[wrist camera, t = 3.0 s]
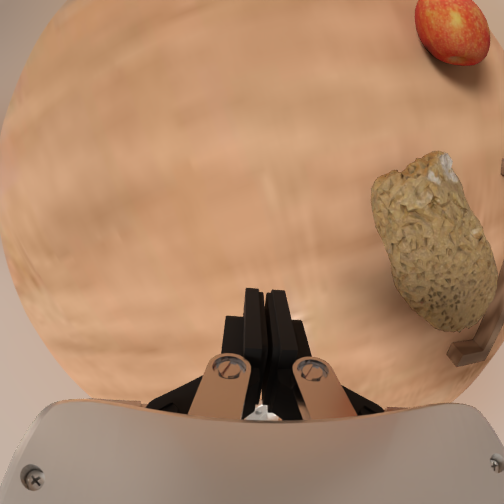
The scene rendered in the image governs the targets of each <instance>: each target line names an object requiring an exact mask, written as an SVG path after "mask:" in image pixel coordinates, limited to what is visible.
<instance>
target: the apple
mask: <svg viewBox="0 0 504 504" xmlns="http://www.w3.org/2000/svg"><path fill="white" fill-rule="evenodd" d="M415 24H416V29H417V32H418V35H419V37H420V40H421V42H422V43H423V45H424V46H425V48H426V49H427V50H428V51H429V52H430V53H431V54H432V55H433V56H434V57H435V58H437V59H439V60H440V61H443V62H446V63H450V64H453V65H461V66H469V65H475V64H478V63H480V62H481V61H482V60H483V59H484V58H485V57H486V56H487V53H488V51H489V46H490V31H489V27H488V23H487V20H486V18H485V17H484V15H483V13H482V11H481V10H480V9H479V7H478V6H477V5H476V4H475V3H474V2H473V1H472V0H419V1H418V3H417V5H416V9H415Z"/></svg>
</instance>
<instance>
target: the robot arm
mask: <svg viewBox="0 0 504 504" xmlns="http://www.w3.org/2000/svg"><path fill="white" fill-rule="evenodd" d="M261 389H262V400H261V401H259V400H260V394H261ZM244 419H245V420H244ZM0 504H504V447H503V445H502V443H501V441H500V440H499V438H498V436H497V434H496V433H495V431H494V430H493V428H492V427H491V425H490V424H489V422H488V421H487V419H486V418H485V417H484V416H483V415H482V413H481V412H480V411H479V410H477V409H476V408H474V407H473V406H469V405H465V404H459V403H438V404H430V405H425V406H418V407H413V408H398V407H387V408H386V409H385V410H383V409H382V407H380V406H379V405H377V404H375V403H374V402H372V401H370V400H368V399H366V398H364V397H362V396H360V395H358V394H357V393H355V392H353V391H351V390H349V389H347V388H346V387H344V386H342V385H341V384H340V382H339V380H338V378H337V376H336V374H335V373H334V371H333V369H332V367H331V366H330V365H329V364H328V363H327V362H326V361H324V360H322V359H320V358H316V357H312V356H311V352H310V348H309V345H308V341H307V337H306V334H305V330H304V326H303V323H302V321H301V320H291V315H290V311H289V307H288V302H287V298H286V294H285V291H284V290H272V291H271V293H267V294H266V301H265V306H264V295H263V292H259V289H255V288H246V291H245V302H244V313H243V317H237V316H226V319H225V327H224V335H223V343H222V351H221V354H219V355H216V356H214V357H213V358H212V359H211V360H210V361H209V363H208V365H207V367H206V370H205V372H204V375H203V376H201V377H199V378H197V379H195V380H193V381H191V382H189V383H187V384H185V385H183V386H181V387H179V388H177V389H175V390H173V391H171V392H168V393H166V394H164V395H162V396H160V397H158V398H156V399H154V400H152V401H151V402H149V404H141V401H124V400H106V399H93V398H91V399H69V400H62V401H57V402H55V403H52V404H50V405H49V406H47V407H46V408H45V409H43V410H42V411H41V412H40V413H39V414H38V416H37V417H36V418H35V420H34V421H33V422H32V424H31V425H30V427H29V428H28V430H27V431H26V433H25V434H24V436H23V438H22V440H21V442H20V444H19V445H18V447H17V449H16V451H15V453H14V455H13V457H12V459H11V462H10V464H9V466H8V469H7V471H6V473H5V476H4V479H3V481H2V484H1V486H0Z"/></svg>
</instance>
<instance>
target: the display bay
mask: <svg viewBox="0 0 504 504" xmlns="http://www.w3.org/2000/svg"><path fill="white" fill-rule="evenodd" d="M501 174H502V175H504V158H502V168H501ZM495 293H496V294H495V296H494V298H493V301H492V302H491V303H490V304H489V307H488V308H487V310H486V312H485V315H484V317H483V319H482V322H481V324H480V326H479V328H478V331H477V333H476V335H475V337H474V339H473V340H469V341H462V342H455V343H452V344H451V346H450V348H449V350H448V352H447V356H448V357H449V358H450V359H451V361H452V362H453V363H454V364H455V366H456V367H459V366H464V365H468V364H472V363H476V362H480V361H484V360H485V359H486V357H487V356H488V354H489V352H490V350H491V348H492V346H493V344H494V342H495V340H496V338H497V336H498V334H499V332H500V330H501V328H502V326H503V323H504V261H503V265H502V268H501V271H500V274H499V277H498V280H497V290H496V291H495Z"/></svg>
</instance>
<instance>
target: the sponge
mask: <svg viewBox="0 0 504 504" xmlns="http://www.w3.org/2000/svg"><path fill="white" fill-rule="evenodd" d="M452 162H453V161H452V159H451V158H450V156H449V155H448V153H444V152H440V151H433V152H431V153H429V154H426V155H425V156H423V157H422V158H416V160H415V162H413V163H410V164H409V165H408V166H407V168H406V169H405V170H404V171H402V173H401V172H398V170H392V171H391V172H389V173H388V174H385V175H382V176H380V177H378V178H377V179H376V180H375V182H374V184H373V186H372V188H371V190H372V192H371V205H372V212H373V216H374V220H375V224H376V225H375V227H376V228H377V231H378V233H379V235H380V237H381V238H382V241H383V243H384V246H385V249H386V251H387V254H388V256H389V259H390V262H391V269H392V276H393V280H394V283H395V286H396V288H397V290H398V291H399V292H400V294H401V296H402V297H404V299H405V300H406V302H407V303H408V304H409V306H410V307H411V309H412V310H414V311H416V312H417V314H418V315H419V316H422V317H423V318H425V320H426V321H427V322H429V323H430V324H431V325H432V326H433V327H434V328H436V329H438V330H443V331H451V332H455V331H458V332H461V331H462V329H464V328H465V327H466V328H468V329H469V328H470V327H471V326H473V325H474V324H477V322H478V321H479V320H480V319H481V318H482V316H483V315H484V313H485V312H486V310H487V308H488V307H489V304H490V303H491V302H492V301H493V298H494V296H495V294H496V293H495V291H496V290H497V278H498V272H497V268H496V264H495V260H494V257H493V253H492V250H491V247H490V244H489V242H488V241H487V240H486V238H485V235H484V232H483V227H482V226H481V224H480V221H479V220H478V219H477V218H476V216H475V215H474V213H473V212H472V210H471V209H470V207H469V205H468V203H467V201H466V199H465V196H464V192H463V187H462V184H461V182H460V180H459V179H458V177H457V176H456V174H455V173H454V171H453V170H452V168H451V167H452Z"/></svg>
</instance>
